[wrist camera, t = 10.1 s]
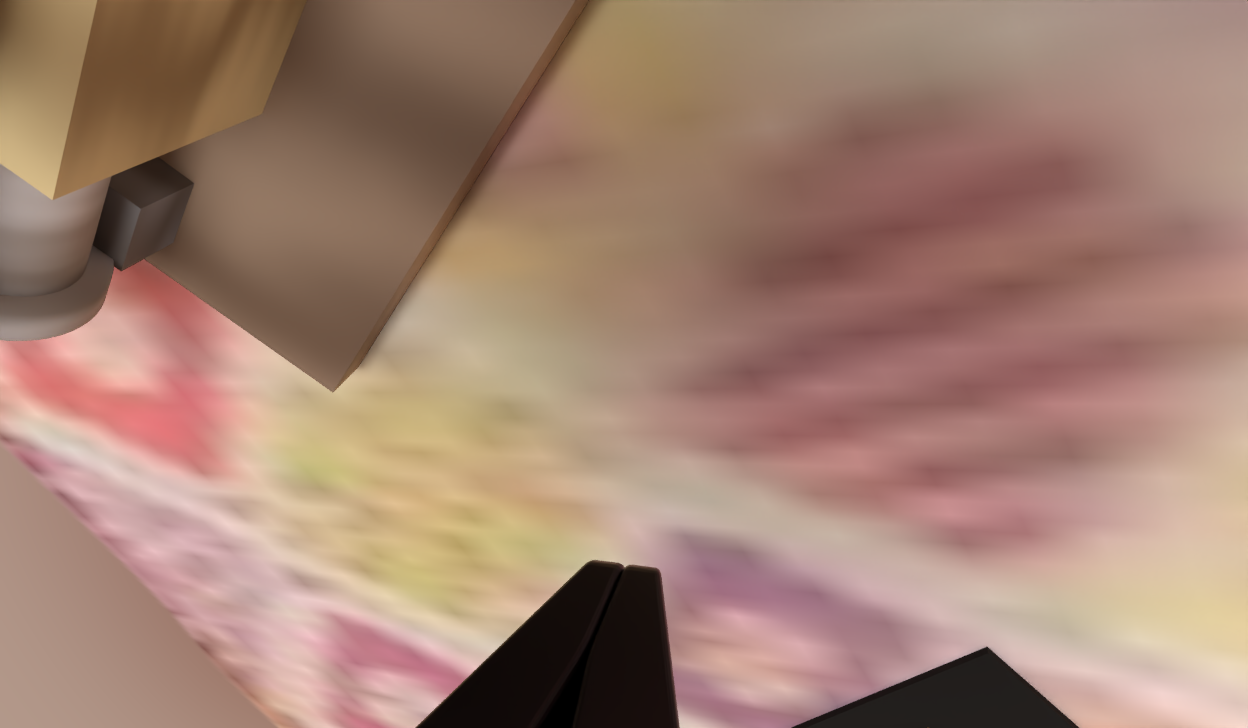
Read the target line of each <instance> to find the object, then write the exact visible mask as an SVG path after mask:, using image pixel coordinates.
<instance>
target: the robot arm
mask: <svg viewBox="0 0 1248 728" xmlns="http://www.w3.org/2000/svg"><path fill="white" fill-rule="evenodd" d="M416 728H680V727H679V719H678V711H677V702H676V694H675V686H674V677H673V669H672V661H671V652H670V644H669V636H668V627H667V619H666V611H665V602H664V594H663V586H662V577H661V572H660V571H659V569H657V568H653V567H646V566H638V565H628V566H626V567H624V566H623V565H622V564H620V563H615V562H607V561H599V560H592V561H589V562H587V563H586V564H585V565H584V566H583V567H582V568H581V569H580V570H579V571H578V572H576V573H575V574H574V575H573V576H572V577H571V578H570V579H569V580H568V581H567V582H566V583H565V584H564V585H563V586H562V587H561V588H560V589H559V590H558V591H557V592H556V593H555V594H554V595H553V596H552V597H551V598H550V599H548V600H547V601H546V602H545V603H544V604H543V605H542V606H541V607H540V608H539V609H538V610H537V611H536V612H535V613H534V614H533V615H532V616H531V617H530V618H529V619H528V620H527V621H526V622H525V623H524V624H523V625H522V626H520V627H519V628H518V629H517V630H516V631H515V632H514V633H513V634H512V635H511V636H510V637H509V638H508V639H507V640H506V641H505V642H504V643H503V644H502V645H501V646H500V647H499V648H498V649H497V650H496V651H495V652H493V653H492V654H491V655H490V656H489V657H488V658H487V659H486V660H485V661H484V662H483V663H482V664H481V665H480V666H479V667H478V668H477V669H476V670H475V671H474V672H473V673H472V674H471V675H470V676H469V677H468V678H467V679H465V680H464V681H463V682H462V683H461V684H460V685H459V686H458V687H457V688H456V689H455V690H454V691H453V692H452V693H451V694H450V695H449V696H448V697H447V698H446V699H445V700H444V701H443V702H442V703H441V704H440V705H439V706H437V707H436V708H435V709H434V710H433V711H432V712H431V713H430V714H429V715H428V716H427V717H426V718H425V719H424V720H423V721H422V722H421V723H420V724H419V725H418V726H417V727H416Z"/></svg>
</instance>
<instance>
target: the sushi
mask: <svg viewBox="0 0 1248 728" xmlns="http://www.w3.org/2000/svg"><path fill="white" fill-rule="evenodd" d="M792 728H1079V727H1078V726H1076V725H1075V724H1074V723H1073V722H1072V721H1071V720H1070V719H1068V718H1067V717H1066V716H1065V715H1064V714H1063V713H1062V712H1061V711H1059V710H1058V709H1057V708H1056V707H1055V706H1054V705H1053V704H1051V703H1050V702H1049V701H1048V700H1047V699H1046V698H1045V697H1043V696H1042V695H1041V694H1040V693H1039V692H1038V691H1037V690H1036V689H1034V688H1033V687H1032V686H1031V685H1030V684H1029V683H1028V682H1026V681H1025V680H1024V679H1023V678H1022V677H1021V676H1020V675H1018V674H1017V673H1016V672H1015V671H1014V670H1013V669H1012V668H1010V667H1009V666H1008V665H1007V664H1006V663H1005V662H1004V661H1003V660H1001V659H1000V658H999V657H998V656H997V655H996V654H995V653H993V652H992V651H991V650H990V649H989V648H988V647H986V648H983V649H981V650H979V651H976V652H974V653H971V654H969V655H966V656H964V657H962V658H959V659H957V660H954V661H952V662H949V663H947V664H945V665H942V666H940V667H937V668H935V669H932V670H930V671H928V672H925V673H923V674H920V675H918V676H915V677H913V678H911V679H908V680H906V681H903V682H901V683H899V684H896V685H894V686H891V687H889V688H886V689H884V690H882V691H879V692H877V693H874V694H872V695H869V696H867V697H865V698H862V699H860V700H857V701H855V702H852V703H850V704H848V705H845V706H843V707H840V708H838V709H835V710H833V711H831V712H828V713H826V714H823V715H821V716H819V717H816V718H814V719H811V720H809V721H806V722H804V723H802V724H799V725H797V726H794V727H792Z"/></svg>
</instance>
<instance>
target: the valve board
mask: <svg viewBox="0 0 1248 728" xmlns="http://www.w3.org/2000/svg"><path fill="white" fill-rule="evenodd" d="M588 1H589V0H0V340H6V341H30V340H40V339H47V338H52V337H56V336H60V335H63V334H66V333H68V332H71V331H73V330H75V329H77V328H79V327H81V326H83V325H84V324H86V323H87V322H89V321H90V320H91V319H92V318H93V317H94V316H95V315H96V314H97V313H98V312H99V310H100V309H101V307H102V305H103V303H104V301H105V298H106V294H107V291H108V288H109V285H110V281H111V278H112V274H113V270H114V266H115V267H116V268H117V269H119V270H120V271H123V270H124V269H126V268H128V267H130V266H132V265H134V264H135V263H137V262H139V261H141V260H143V259H145V260H146V261H148V262H149V263H151V264H152V265H153V266H155V267H156V268H158V269H159V270H160V271H162V272H163V273H165V274H166V275H168V276H169V277H170V278H172V279H173V280H175V281H176V282H177V283H179V284H180V285H182V286H183V287H184V288H186V289H187V290H189V291H190V292H192V293H193V294H194V295H196V296H197V297H199V298H200V299H201V300H203V301H204V302H206V303H207V304H209V305H210V306H211V307H213V308H214V309H216V310H217V311H218V312H220V313H221V314H223V315H224V316H226V317H227V318H228V319H230V320H231V321H233V322H234V323H235V324H237V325H238V326H240V327H241V328H243V329H244V330H245V331H247V332H248V333H250V334H251V335H252V336H254V337H255V338H257V339H258V340H259V341H261V342H262V343H264V344H265V345H267V346H268V347H269V348H271V349H272V350H274V351H275V352H276V353H278V354H279V355H281V356H282V357H284V358H285V359H286V360H288V361H289V362H291V363H292V364H293V365H295V366H296V367H298V368H299V369H301V370H302V371H303V372H305V373H306V374H308V375H309V376H310V377H312V378H313V379H315V380H316V381H318V382H319V383H320V384H322V385H323V386H325V387H326V388H327V389H329V390H330V391H332V392H334V391H335V390H336V389H337V388H338V387H339V386H340V385H341V384H342V383H343V382H344V381H345V380H346V379H347V378H348V377H349V376H350V375H351V374H352V373H353V372H354V371H355V370H356V369H357V368H358V366H359V365H360V363H361V362H362V360H363V358H364V357H365V355H366V354H367V352H368V350H369V349H370V347H371V346H372V344H373V343H374V341H375V339H376V338H377V336H378V335H379V333H380V331H381V330H382V328H383V327H384V325H385V323H386V322H387V320H388V319H389V317H390V316H391V314H392V312H393V311H394V309H395V308H396V306H397V304H398V303H399V301H400V300H401V298H402V296H403V295H404V293H405V292H406V290H407V288H408V287H409V285H410V284H411V282H412V281H413V279H414V277H415V276H416V274H417V273H418V271H419V269H420V268H421V266H422V265H423V263H424V261H425V260H426V258H427V257H428V255H429V253H430V252H431V250H432V249H433V247H434V246H435V244H436V242H437V241H438V239H439V238H440V236H441V234H442V233H443V231H444V230H445V228H446V226H447V225H448V223H449V222H450V220H451V219H452V217H453V215H454V214H455V212H456V211H457V209H458V207H459V206H460V204H461V203H462V201H463V199H464V198H465V196H466V195H467V193H468V191H469V190H470V188H471V187H472V185H473V184H474V182H475V180H476V179H477V177H478V176H479V174H480V172H481V171H482V169H483V168H484V166H485V164H486V163H487V161H488V160H489V158H490V157H491V155H492V153H493V152H494V150H495V149H496V147H497V145H498V144H499V142H500V141H501V139H502V137H503V136H504V134H505V133H506V131H507V129H508V128H509V126H510V125H511V123H512V122H513V120H514V118H515V117H516V115H517V114H518V112H519V110H520V109H521V107H522V106H523V104H524V102H525V101H526V99H527V98H528V96H529V95H530V93H531V91H532V90H533V88H534V87H535V85H536V83H537V82H538V80H539V79H540V77H541V75H542V74H543V72H544V71H545V69H546V67H547V66H548V64H549V63H550V61H551V60H552V58H553V56H554V55H555V53H556V52H557V50H558V48H559V47H560V45H561V44H562V42H563V40H564V39H565V37H566V36H567V34H568V33H569V31H570V29H571V28H572V26H573V25H574V23H575V21H576V20H577V18H578V17H579V15H580V13H581V12H582V10H583V9H584V7H585V5H586V4H587V2H588Z"/></svg>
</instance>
